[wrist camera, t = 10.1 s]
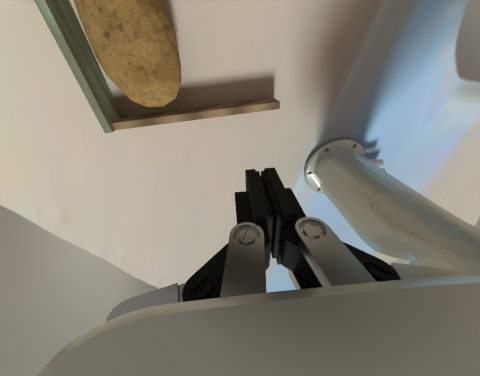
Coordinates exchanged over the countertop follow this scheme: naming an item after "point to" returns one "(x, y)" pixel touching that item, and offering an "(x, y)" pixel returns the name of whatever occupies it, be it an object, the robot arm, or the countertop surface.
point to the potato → (134, 47)
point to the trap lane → (96, 89)
